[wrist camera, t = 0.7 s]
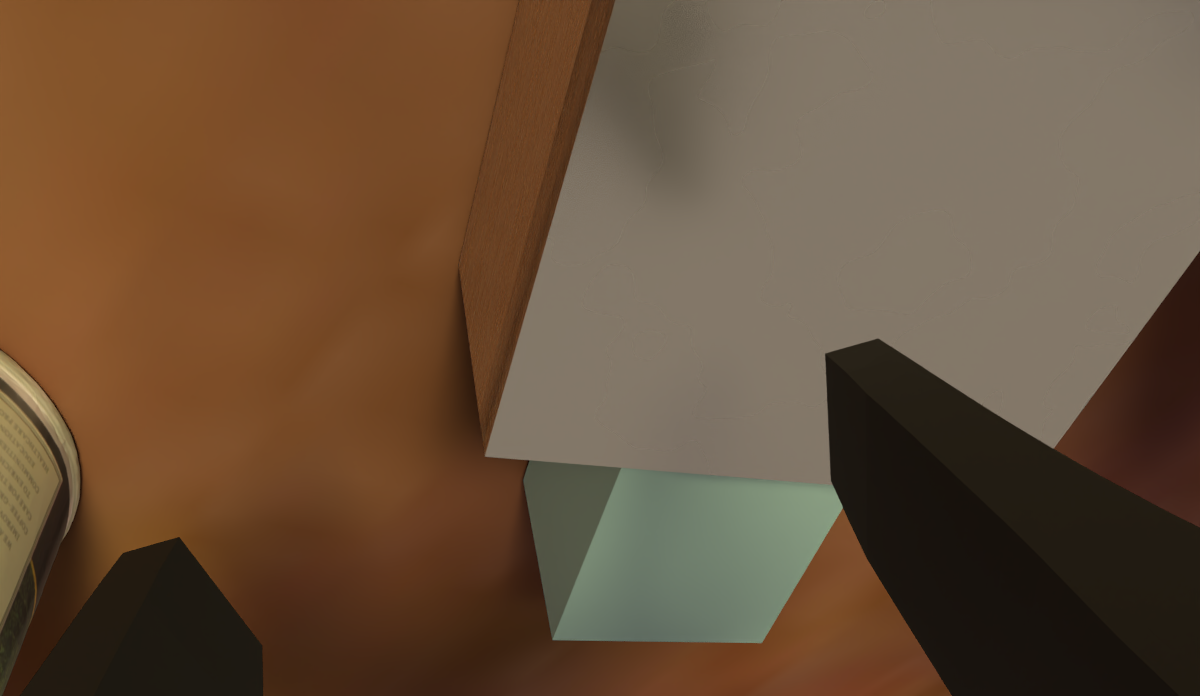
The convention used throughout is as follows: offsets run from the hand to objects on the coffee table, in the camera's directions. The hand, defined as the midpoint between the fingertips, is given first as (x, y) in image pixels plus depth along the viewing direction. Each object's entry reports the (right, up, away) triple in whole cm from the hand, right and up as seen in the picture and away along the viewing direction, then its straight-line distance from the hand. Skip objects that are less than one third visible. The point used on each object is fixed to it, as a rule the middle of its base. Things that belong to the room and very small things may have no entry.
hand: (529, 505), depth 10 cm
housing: (+4, +7, +9) cm, 12 cm away
